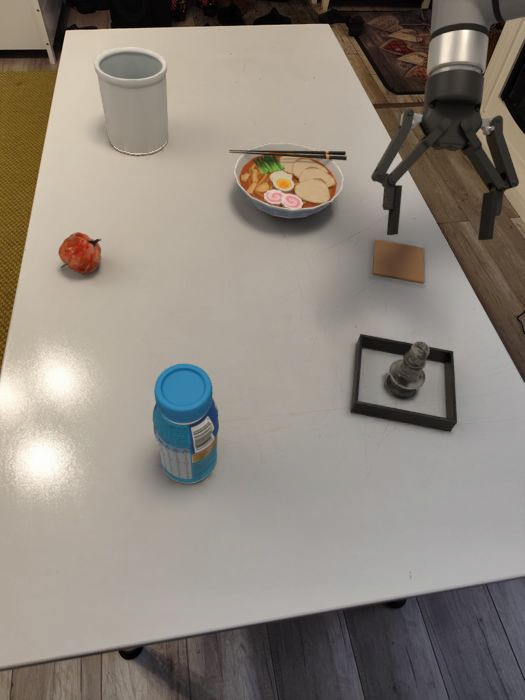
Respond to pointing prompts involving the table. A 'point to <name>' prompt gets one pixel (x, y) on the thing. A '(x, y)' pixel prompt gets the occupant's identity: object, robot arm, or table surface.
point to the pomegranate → (80, 253)
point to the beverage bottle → (186, 423)
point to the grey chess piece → (408, 372)
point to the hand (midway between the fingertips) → (439, 237)
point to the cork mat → (398, 261)
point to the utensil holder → (134, 98)
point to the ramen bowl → (289, 178)
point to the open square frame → (400, 414)
